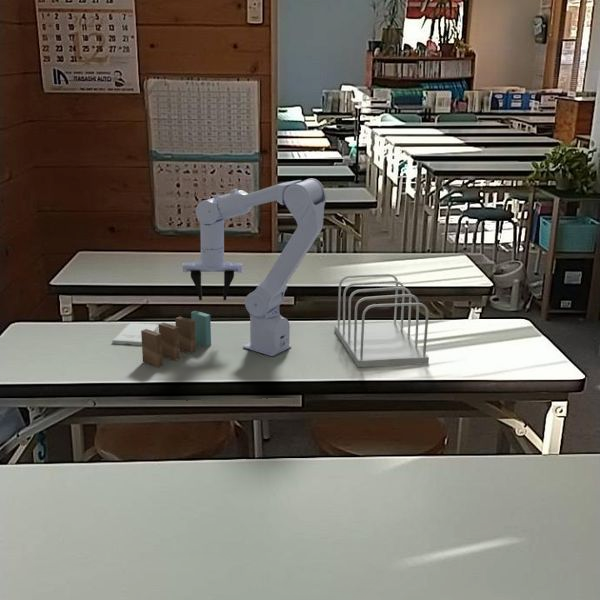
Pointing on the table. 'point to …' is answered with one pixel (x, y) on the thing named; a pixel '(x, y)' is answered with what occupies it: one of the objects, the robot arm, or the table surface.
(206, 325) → the domino
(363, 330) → the file sorter
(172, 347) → the domino
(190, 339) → the domino
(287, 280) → the robot arm
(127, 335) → the external hard drive
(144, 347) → the domino
